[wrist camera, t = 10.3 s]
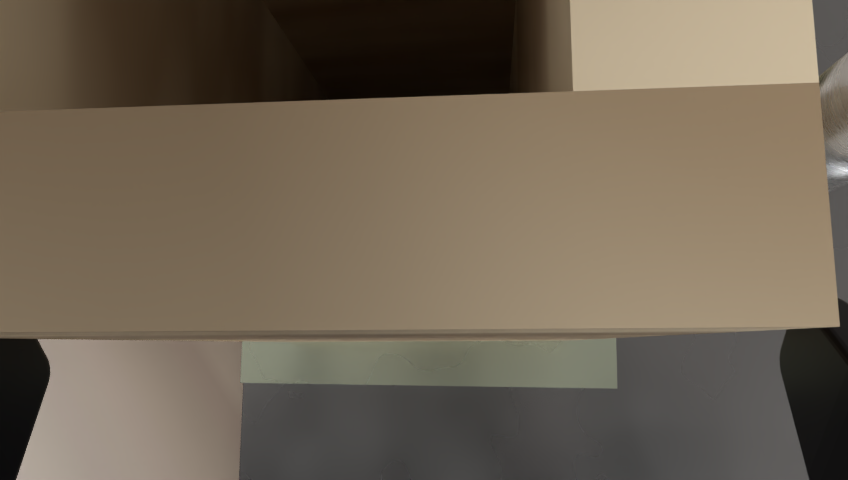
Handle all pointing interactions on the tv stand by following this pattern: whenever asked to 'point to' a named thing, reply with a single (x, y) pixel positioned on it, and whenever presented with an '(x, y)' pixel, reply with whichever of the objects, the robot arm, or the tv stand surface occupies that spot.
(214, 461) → the tv stand surface
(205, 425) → the tv stand surface
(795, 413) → the robot arm
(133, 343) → the tv stand surface
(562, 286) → the sleeve
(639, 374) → the peg plate
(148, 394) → the tv stand surface
